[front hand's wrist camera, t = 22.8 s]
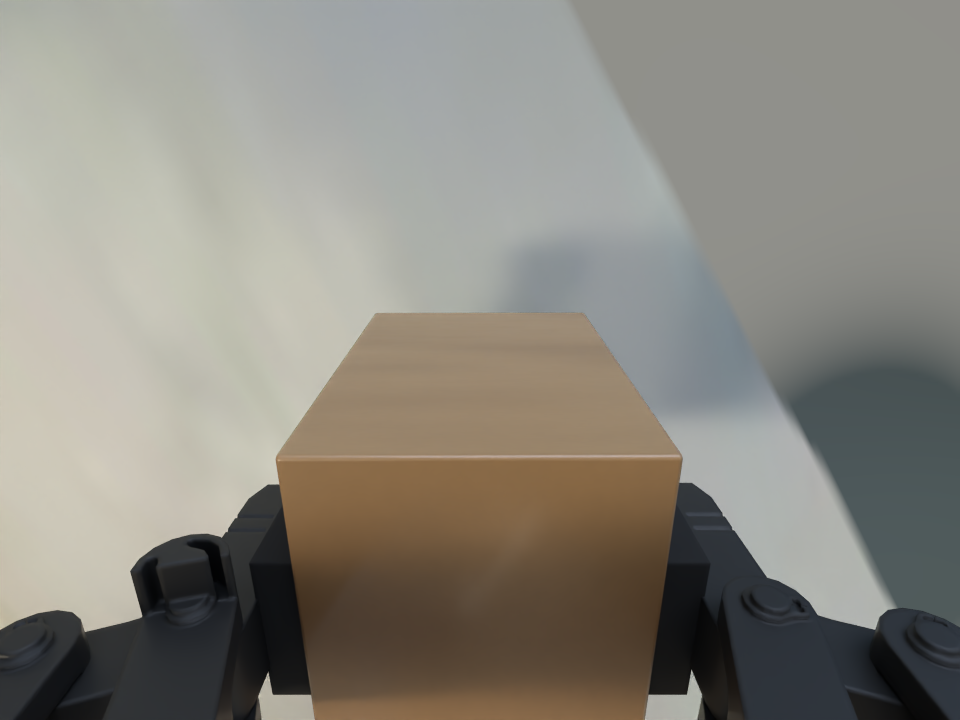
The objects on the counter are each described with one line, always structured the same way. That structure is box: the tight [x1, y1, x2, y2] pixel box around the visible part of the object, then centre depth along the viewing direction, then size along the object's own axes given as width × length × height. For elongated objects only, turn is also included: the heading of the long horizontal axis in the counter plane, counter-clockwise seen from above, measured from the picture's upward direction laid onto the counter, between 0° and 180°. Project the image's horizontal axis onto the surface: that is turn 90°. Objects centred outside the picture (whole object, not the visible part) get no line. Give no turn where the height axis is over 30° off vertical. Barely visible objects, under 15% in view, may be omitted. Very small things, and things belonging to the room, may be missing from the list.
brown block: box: [276, 313, 683, 720], centre depth 12 cm, size 7×5×7 cm
